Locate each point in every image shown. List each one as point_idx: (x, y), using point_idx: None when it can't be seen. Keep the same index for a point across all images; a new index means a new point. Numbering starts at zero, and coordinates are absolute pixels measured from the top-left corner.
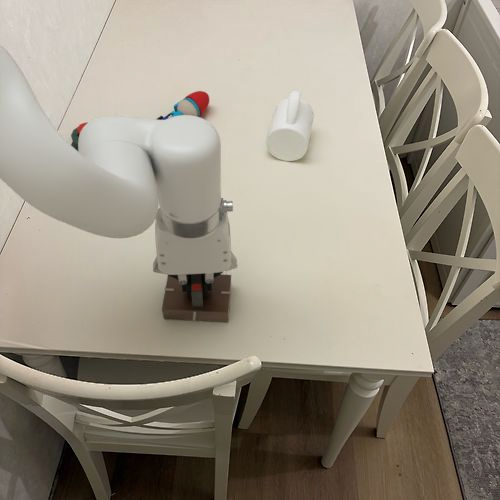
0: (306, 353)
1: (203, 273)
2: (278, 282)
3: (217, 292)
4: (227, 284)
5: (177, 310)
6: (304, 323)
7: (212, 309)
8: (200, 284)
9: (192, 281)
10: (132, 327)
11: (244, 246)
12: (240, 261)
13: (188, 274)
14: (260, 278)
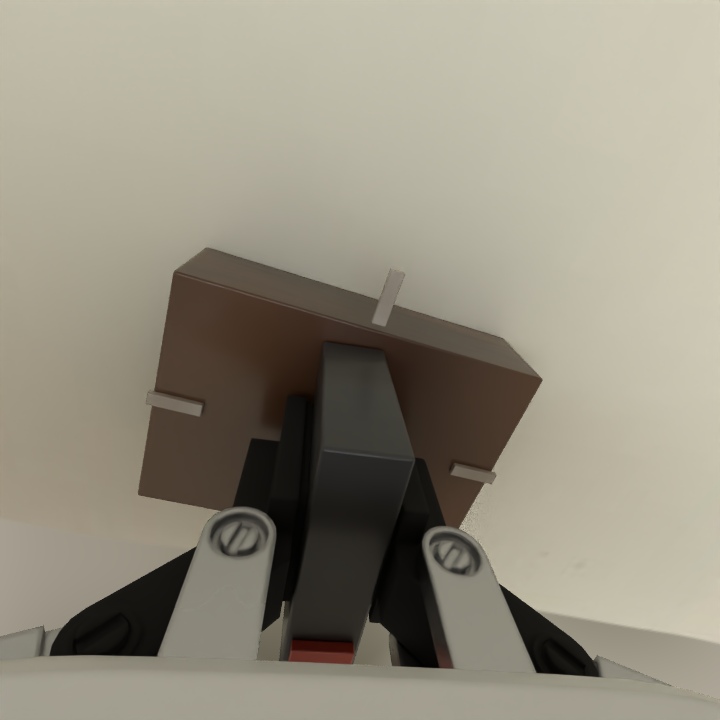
0: (613, 607)
1: (395, 601)
2: (704, 369)
3: (433, 462)
4: (499, 430)
5: (218, 507)
6: (672, 534)
7: None
8: (350, 655)
9: (300, 619)
10: (30, 444)
11: (696, 90)
12: (615, 204)
13: (277, 593)
14: (646, 332)
